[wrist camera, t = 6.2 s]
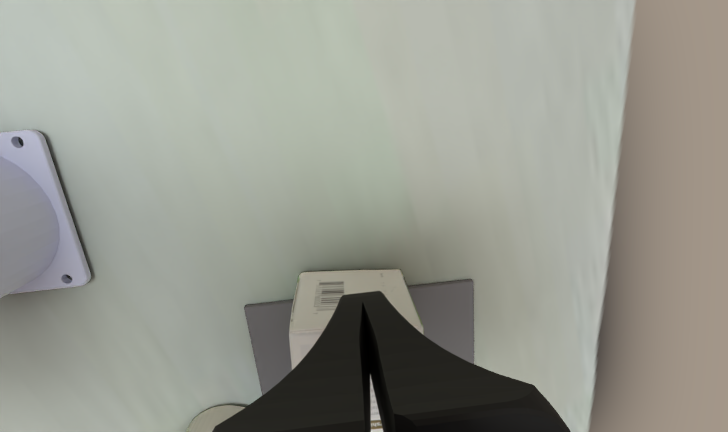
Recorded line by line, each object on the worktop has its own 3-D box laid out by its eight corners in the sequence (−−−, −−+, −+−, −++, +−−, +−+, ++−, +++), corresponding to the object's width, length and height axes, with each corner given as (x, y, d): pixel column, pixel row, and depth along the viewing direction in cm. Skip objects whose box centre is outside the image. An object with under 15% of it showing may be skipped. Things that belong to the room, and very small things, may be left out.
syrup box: (284, 331, 15) (304, 577, 19) (431, 324, 15) (418, 567, 19) (298, 269, 20) (311, 471, 24) (405, 265, 20) (400, 464, 25)
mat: (283, 488, 25) (283, 492, 25) (245, 305, 21) (244, 307, 21) (473, 462, 25) (474, 466, 25) (471, 278, 21) (473, 281, 21)
